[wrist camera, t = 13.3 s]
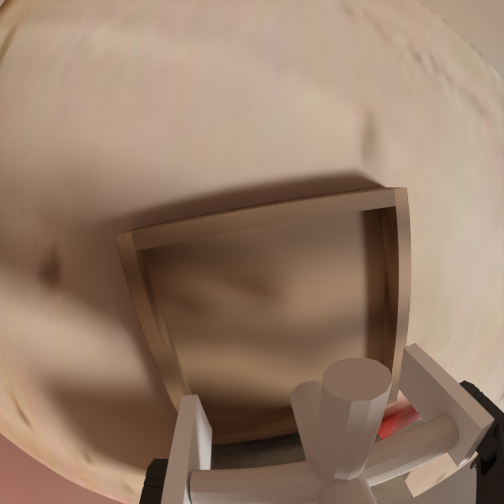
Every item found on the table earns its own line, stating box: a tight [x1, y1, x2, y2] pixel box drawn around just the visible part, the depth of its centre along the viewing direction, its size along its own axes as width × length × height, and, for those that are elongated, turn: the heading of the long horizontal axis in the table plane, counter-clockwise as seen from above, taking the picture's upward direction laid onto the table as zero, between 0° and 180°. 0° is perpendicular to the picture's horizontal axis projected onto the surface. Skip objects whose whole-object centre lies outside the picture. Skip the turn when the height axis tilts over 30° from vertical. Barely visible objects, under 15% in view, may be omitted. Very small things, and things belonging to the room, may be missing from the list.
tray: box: [116, 187, 411, 445], centre depth 17 cm, size 17×17×2 cm
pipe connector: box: [190, 357, 459, 504], centre depth 7 cm, size 10×10×10 cm
